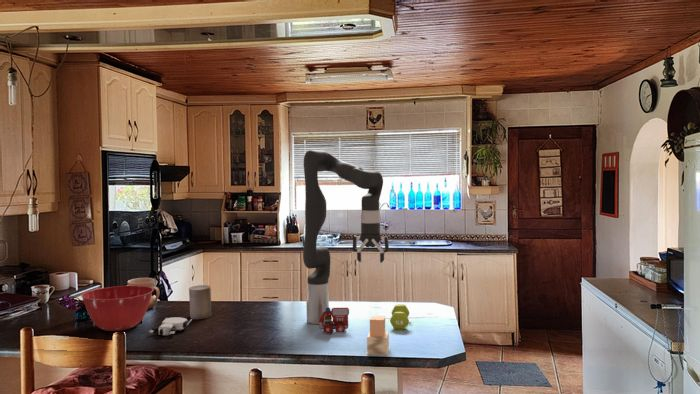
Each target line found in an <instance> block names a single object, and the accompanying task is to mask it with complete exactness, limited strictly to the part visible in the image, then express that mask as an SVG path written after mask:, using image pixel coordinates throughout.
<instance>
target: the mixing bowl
mask: <svg viewBox="0 0 700 394" xmlns="http://www.w3.org/2000/svg"><path fill="white" fill-rule="evenodd" d="M153 292H154V290H153V288H151V287H146V286H126V285H118V286H110V287H109V286H108V287H102V288H97V289H92V290H88V291H86V292H84V293H82V294H81V298H82V301H83V304H84V306H85V307H84V308H85V309H86V311H87V314H88V316H89V317H90V319H91V321H92V323H93V324H94V325H95V326H96V327H98V328H99V329H101V330H103V331H106V332H119V331H125V330H129V329H132V328H134V327H136V326H137V325H138V324H140V322H141V321H143V319H144V317H145V315H146V313H147V310H149V309H148V306H149V303H150V300H151V296H153V295H152V294H153Z"/></svg>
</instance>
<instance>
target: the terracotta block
mask: <svg viewBox="0 0 700 394" xmlns="http://www.w3.org/2000/svg"><path fill="white" fill-rule="evenodd" d="M369 332H370V336H376V337H384V335H385V332H386V316H383V315H381V316H380V315H371V316H370V318H369Z"/></svg>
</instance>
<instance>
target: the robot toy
mask: <svg viewBox="0 0 700 394" xmlns="http://www.w3.org/2000/svg"><path fill="white" fill-rule="evenodd" d="M192 320H193V319H192V318H191V319H190V320H188V319H187V317H186V318H184V317H179V316H178V317H175V316H174V317H165V319H164V320H162V321H161V322H160V324H161V325H159V327H158V326H156V327H153V328H152V329H150V330H148V332H149V333H150V334H152V333H153V334H156V333H158V335H160V336H170V335H175V334H176V331H182V330H184V329H185V328H186V327H188V326H189V324H190V323H191V322H192Z"/></svg>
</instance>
